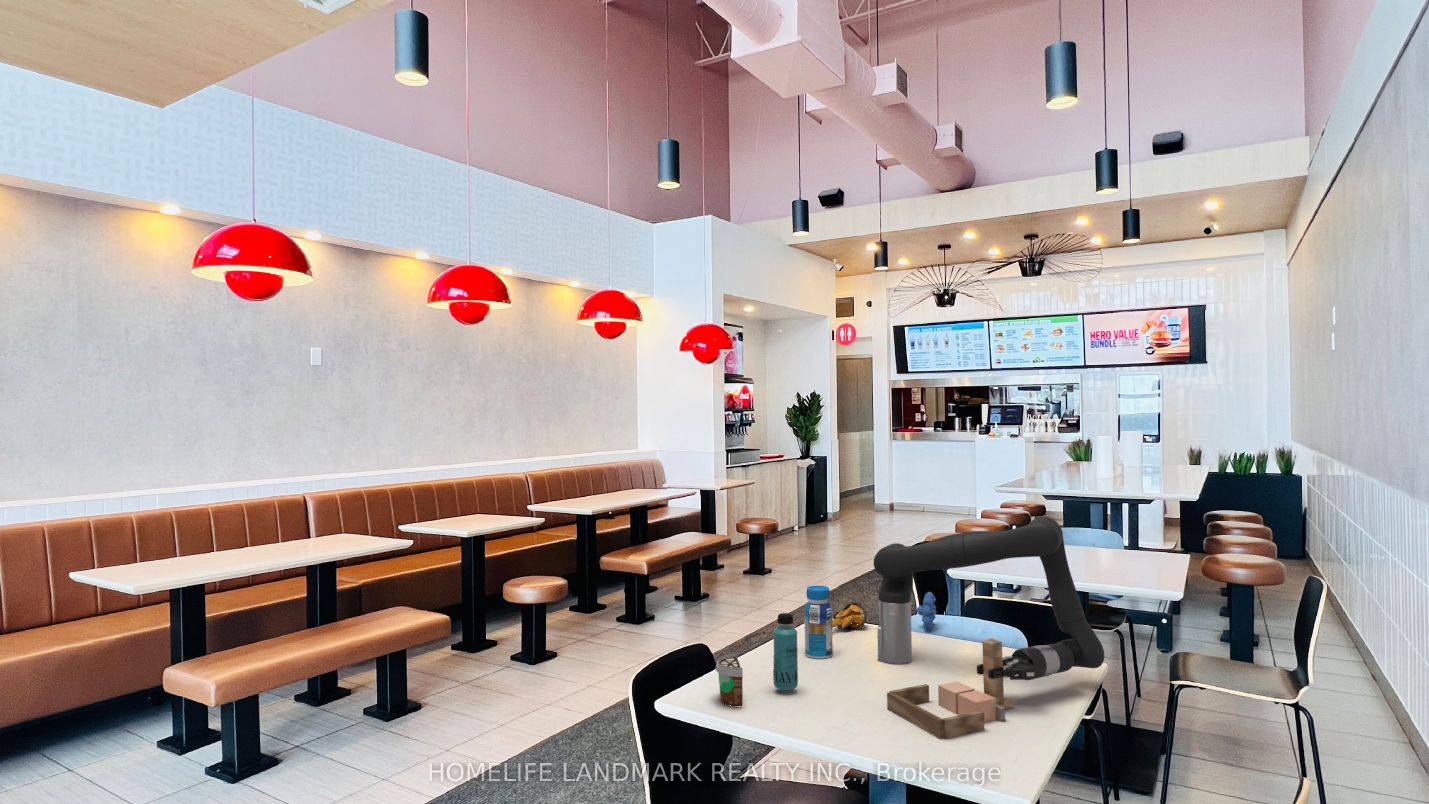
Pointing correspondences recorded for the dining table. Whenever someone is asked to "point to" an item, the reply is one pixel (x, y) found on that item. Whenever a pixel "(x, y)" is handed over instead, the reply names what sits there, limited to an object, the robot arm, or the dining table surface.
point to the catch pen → (946, 728)
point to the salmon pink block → (977, 704)
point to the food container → (730, 680)
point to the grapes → (927, 611)
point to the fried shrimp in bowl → (850, 617)
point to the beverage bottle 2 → (818, 623)
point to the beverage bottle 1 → (785, 654)
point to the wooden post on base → (995, 686)
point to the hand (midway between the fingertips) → (983, 672)
